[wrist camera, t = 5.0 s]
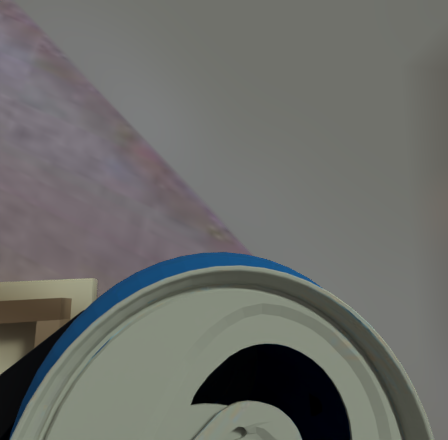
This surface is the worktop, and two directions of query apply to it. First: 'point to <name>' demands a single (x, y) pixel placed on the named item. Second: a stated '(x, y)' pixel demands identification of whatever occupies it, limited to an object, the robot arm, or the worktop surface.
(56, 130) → the worktop surface
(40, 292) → the can holder
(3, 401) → the robot arm
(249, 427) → the beverage can
